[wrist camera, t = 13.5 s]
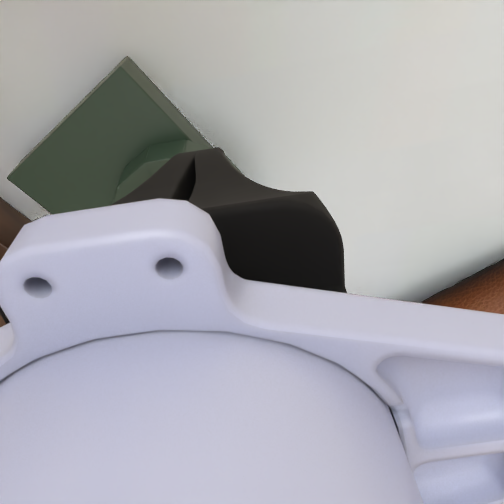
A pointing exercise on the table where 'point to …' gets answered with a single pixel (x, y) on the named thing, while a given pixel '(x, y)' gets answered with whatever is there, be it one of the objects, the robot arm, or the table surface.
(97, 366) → the robot arm
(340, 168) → the table surface
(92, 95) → the button box
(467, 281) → the sunglasses case
